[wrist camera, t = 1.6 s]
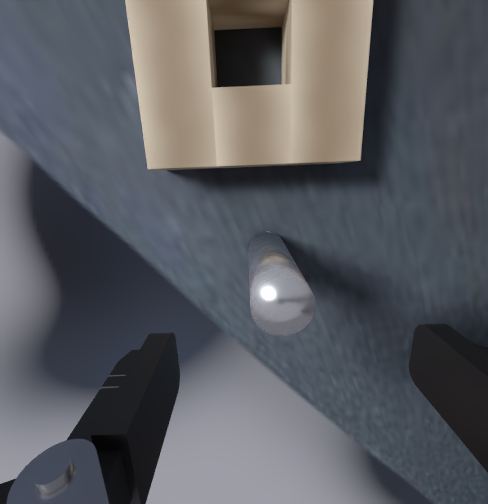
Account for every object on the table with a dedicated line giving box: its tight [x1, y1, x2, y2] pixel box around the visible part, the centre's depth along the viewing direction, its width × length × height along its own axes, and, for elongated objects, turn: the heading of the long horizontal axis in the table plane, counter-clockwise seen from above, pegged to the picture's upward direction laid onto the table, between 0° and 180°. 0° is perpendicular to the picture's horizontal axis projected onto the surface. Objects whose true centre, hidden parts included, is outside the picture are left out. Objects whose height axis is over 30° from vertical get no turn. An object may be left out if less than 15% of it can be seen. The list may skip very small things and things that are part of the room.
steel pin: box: [248, 231, 316, 336], centre depth 17 cm, size 3×3×10 cm
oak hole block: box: [125, 0, 373, 170], centre depth 16 cm, size 13×13×4 cm
